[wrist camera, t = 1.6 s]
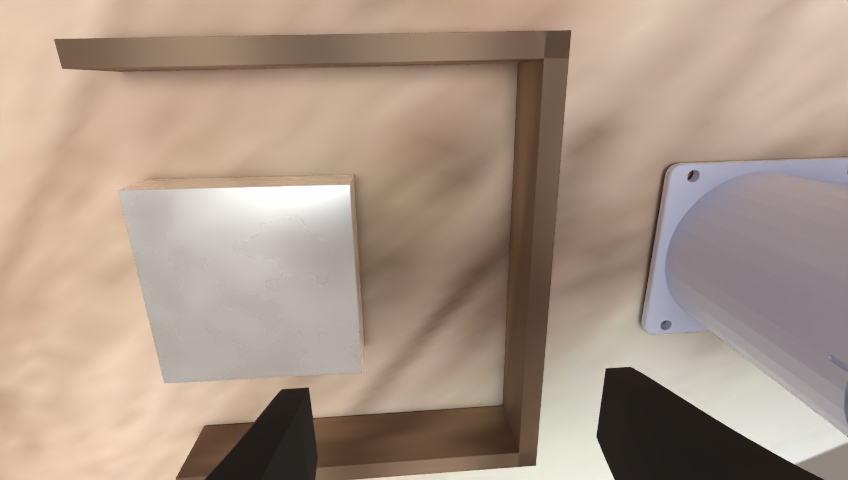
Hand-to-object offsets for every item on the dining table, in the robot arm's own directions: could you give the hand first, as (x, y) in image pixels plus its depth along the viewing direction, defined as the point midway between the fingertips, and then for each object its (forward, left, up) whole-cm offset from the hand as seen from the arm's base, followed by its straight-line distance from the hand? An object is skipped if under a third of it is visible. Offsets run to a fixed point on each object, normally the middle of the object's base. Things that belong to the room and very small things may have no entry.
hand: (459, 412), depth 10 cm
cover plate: (+7, 0, -10) cm, 12 cm away
